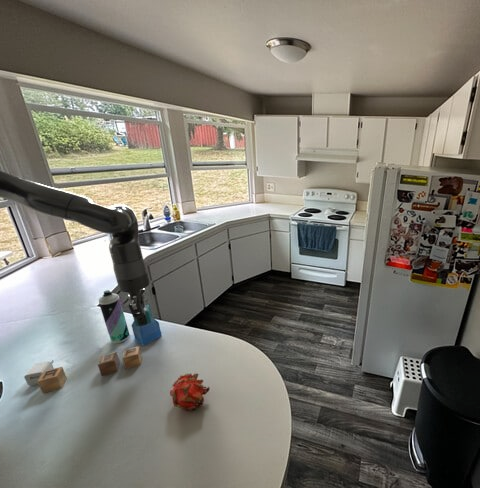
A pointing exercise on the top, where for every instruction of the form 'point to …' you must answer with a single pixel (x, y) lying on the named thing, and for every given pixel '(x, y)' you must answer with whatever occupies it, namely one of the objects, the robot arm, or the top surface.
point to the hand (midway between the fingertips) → (144, 320)
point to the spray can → (114, 317)
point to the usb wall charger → (37, 372)
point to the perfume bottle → (147, 332)
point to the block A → (52, 379)
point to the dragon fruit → (188, 392)
